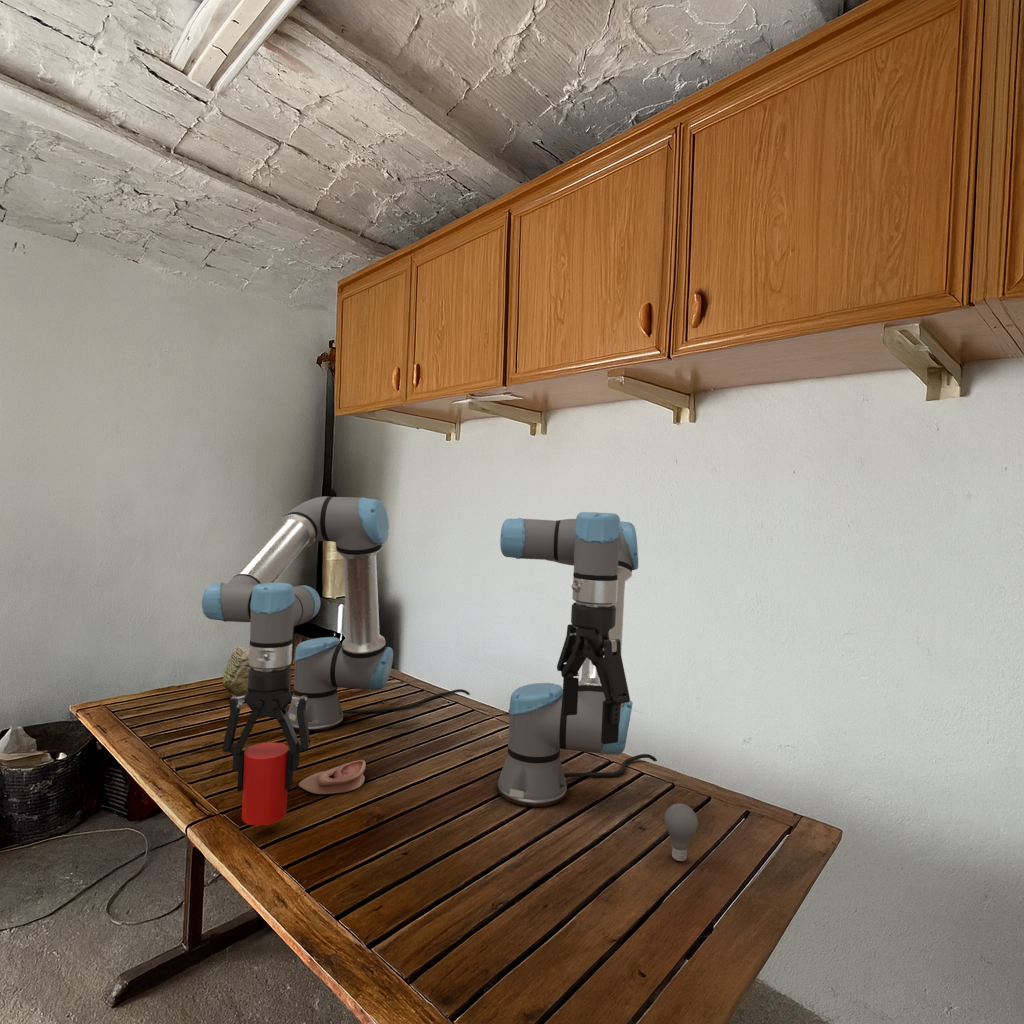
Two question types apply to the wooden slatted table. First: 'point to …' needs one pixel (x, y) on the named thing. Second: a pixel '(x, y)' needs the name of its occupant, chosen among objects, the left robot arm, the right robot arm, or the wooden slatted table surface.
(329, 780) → the anatomical model
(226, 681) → the fossil
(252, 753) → the tin
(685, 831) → the light bulb
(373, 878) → the wooden slatted table surface
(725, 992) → the wooden slatted table surface
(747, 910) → the wooden slatted table surface
